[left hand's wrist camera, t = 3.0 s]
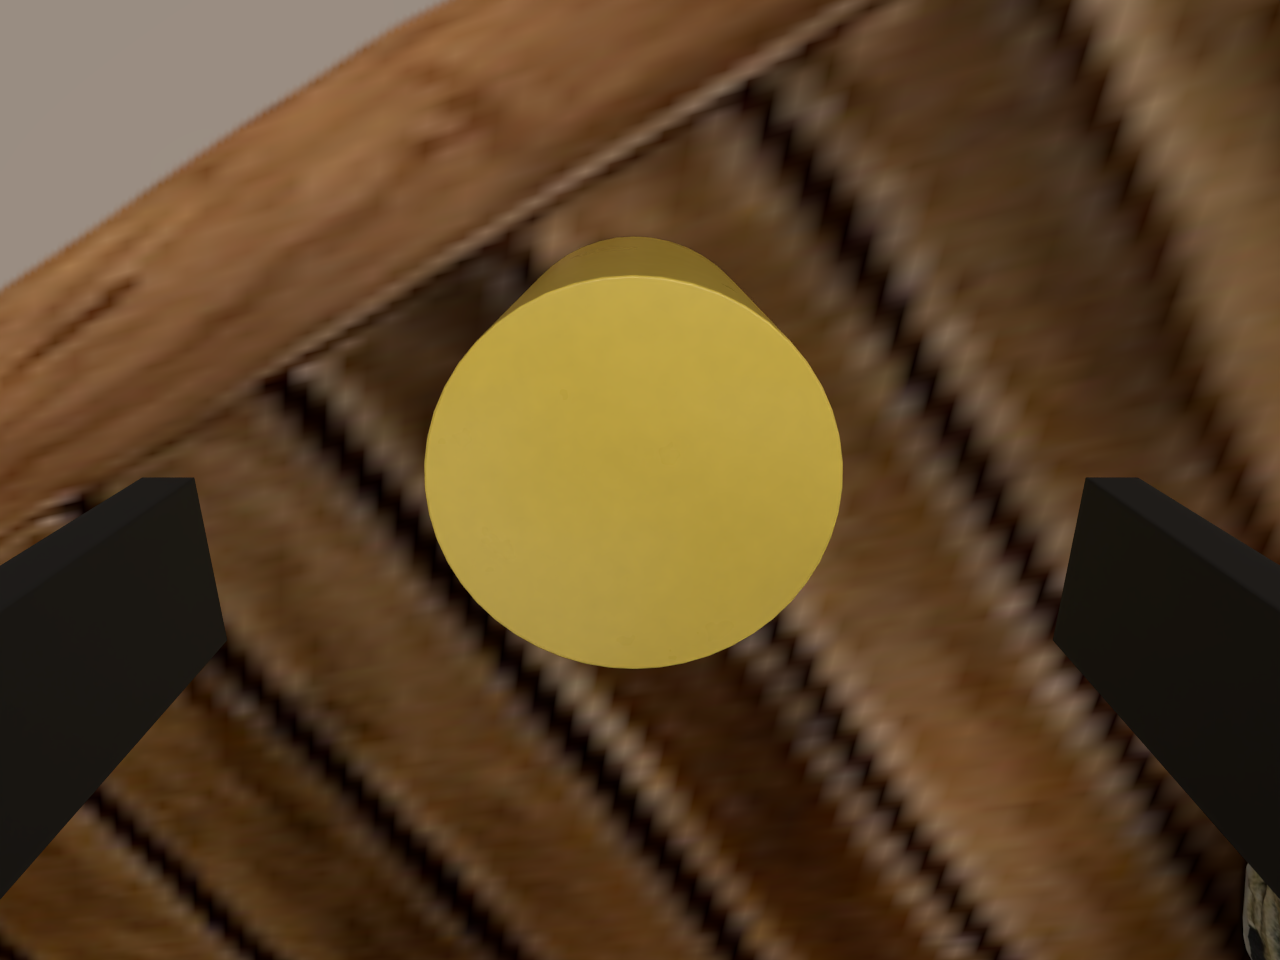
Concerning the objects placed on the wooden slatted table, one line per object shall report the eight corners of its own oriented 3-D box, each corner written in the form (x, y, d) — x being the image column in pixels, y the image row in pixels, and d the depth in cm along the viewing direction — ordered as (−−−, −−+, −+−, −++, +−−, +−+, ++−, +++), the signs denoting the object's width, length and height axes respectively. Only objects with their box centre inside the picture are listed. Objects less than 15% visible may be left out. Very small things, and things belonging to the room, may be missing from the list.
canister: (583, 183, 24) (545, 185, 14) (813, 322, 26) (928, 415, 16) (462, 416, 27) (356, 559, 17) (679, 531, 28) (703, 728, 18)
